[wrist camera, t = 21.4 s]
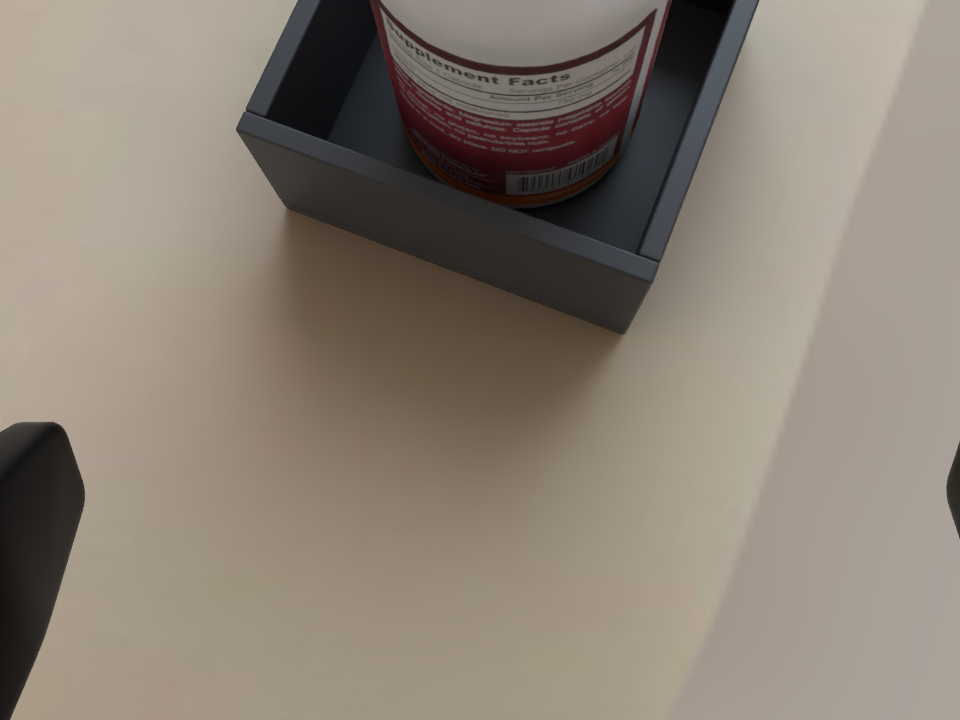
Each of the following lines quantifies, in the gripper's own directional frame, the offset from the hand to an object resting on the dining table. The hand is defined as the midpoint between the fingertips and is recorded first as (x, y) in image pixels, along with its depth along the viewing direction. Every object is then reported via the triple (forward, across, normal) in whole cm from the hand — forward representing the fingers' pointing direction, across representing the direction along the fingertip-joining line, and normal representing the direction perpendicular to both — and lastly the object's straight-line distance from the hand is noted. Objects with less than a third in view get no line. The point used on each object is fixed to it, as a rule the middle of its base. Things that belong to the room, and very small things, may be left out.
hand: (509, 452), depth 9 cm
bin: (+17, 0, +2) cm, 17 cm away
